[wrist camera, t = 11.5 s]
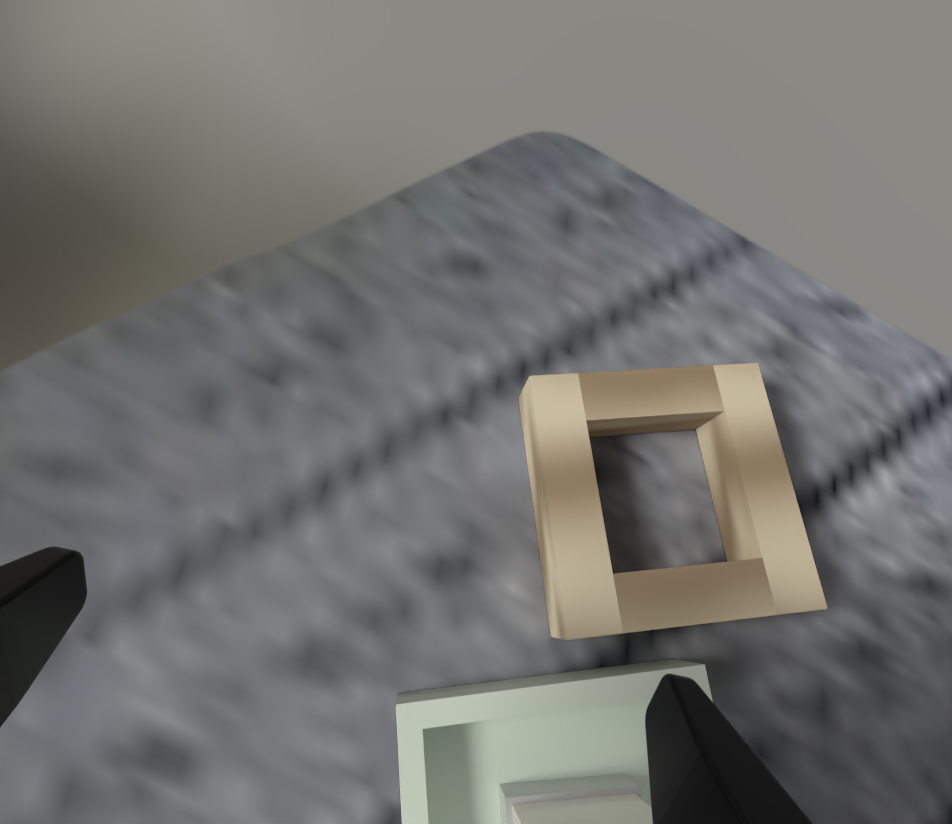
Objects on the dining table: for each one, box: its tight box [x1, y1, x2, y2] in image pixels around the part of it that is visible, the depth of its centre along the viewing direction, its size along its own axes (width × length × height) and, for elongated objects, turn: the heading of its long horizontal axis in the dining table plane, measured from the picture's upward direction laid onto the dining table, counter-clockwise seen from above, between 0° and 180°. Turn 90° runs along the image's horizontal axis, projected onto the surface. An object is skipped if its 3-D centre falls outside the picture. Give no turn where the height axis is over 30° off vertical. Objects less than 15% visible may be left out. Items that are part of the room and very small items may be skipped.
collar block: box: [519, 363, 828, 640], centre depth 23 cm, size 10×10×2 cm
